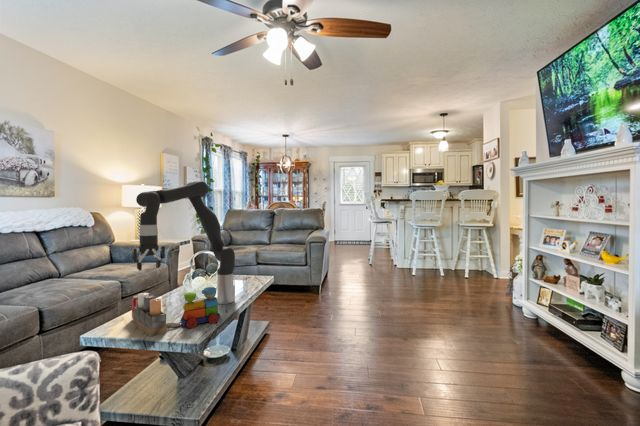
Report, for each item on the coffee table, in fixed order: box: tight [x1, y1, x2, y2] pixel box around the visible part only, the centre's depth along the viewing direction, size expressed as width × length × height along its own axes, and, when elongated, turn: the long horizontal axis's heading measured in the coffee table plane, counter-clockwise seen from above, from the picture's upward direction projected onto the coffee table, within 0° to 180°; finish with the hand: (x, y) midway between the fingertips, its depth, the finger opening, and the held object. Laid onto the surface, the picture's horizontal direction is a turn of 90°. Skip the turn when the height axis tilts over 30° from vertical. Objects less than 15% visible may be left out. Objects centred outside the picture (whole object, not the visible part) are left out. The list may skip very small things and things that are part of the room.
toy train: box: [166, 286, 221, 329], centre depth 154 cm, size 12×29×17 cm, turn 126°
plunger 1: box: [137, 292, 150, 309], centre depth 155 cm, size 5×5×7 cm
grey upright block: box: [144, 295, 156, 313], centre depth 150 cm, size 5×5×7 cm
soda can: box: [131, 294, 138, 321], centre depth 162 cm, size 7×7×12 cm
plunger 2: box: [150, 298, 162, 316], centre depth 145 cm, size 5×5×7 cm
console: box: [133, 306, 168, 337], centre depth 150 cm, size 7×22×8 cm, turn 48°
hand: (148, 269), depth 149 cm, fingers open, 7 cm apart
